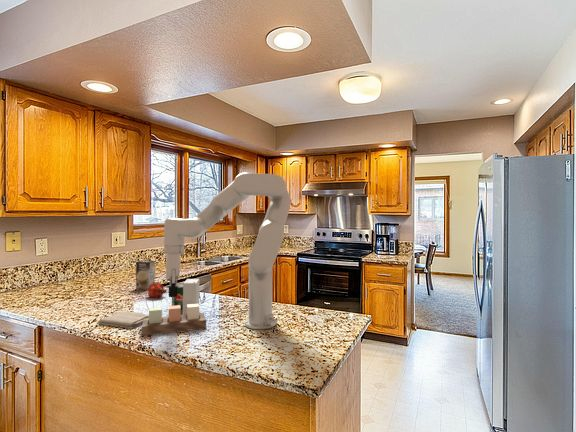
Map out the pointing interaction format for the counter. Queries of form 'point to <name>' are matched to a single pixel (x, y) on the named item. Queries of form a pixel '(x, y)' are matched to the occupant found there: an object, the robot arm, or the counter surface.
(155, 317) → the sage key
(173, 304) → the canned tomato
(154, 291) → the dragon fruit
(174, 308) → the terracotta key
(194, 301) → the skincare box
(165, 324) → the brown slotted tray
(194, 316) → the cream key
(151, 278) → the coffee box
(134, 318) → the washcloth
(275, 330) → the counter surface
